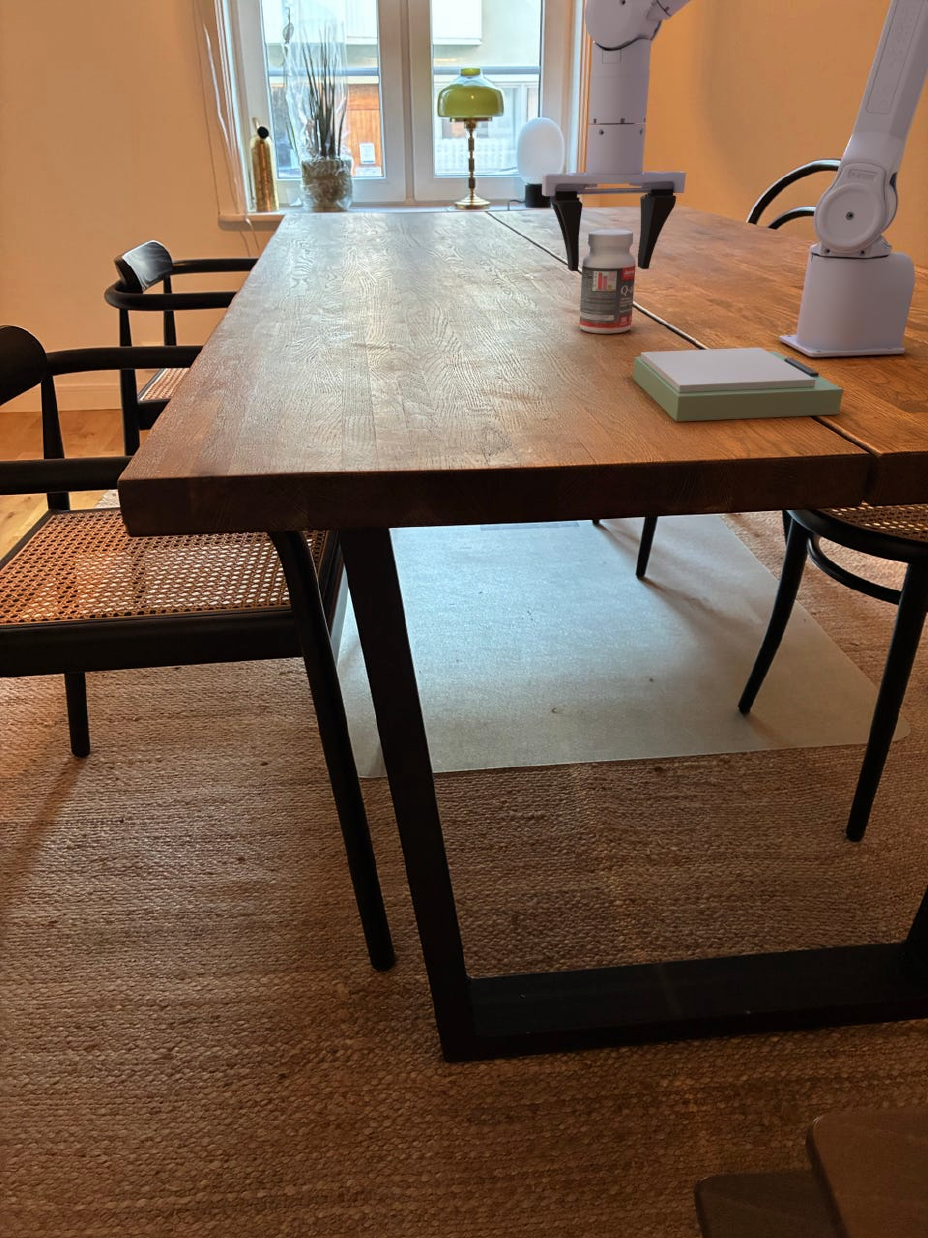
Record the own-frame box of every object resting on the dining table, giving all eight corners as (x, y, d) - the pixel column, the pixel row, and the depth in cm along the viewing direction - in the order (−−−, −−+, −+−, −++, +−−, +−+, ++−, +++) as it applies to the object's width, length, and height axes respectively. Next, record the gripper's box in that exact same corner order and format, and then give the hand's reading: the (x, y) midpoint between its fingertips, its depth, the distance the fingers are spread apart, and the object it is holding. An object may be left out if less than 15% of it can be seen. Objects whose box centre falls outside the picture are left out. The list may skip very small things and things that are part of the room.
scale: (773, 373, 81) (777, 344, 80) (838, 414, 69) (845, 381, 68) (632, 379, 80) (634, 349, 79) (676, 421, 69) (679, 388, 67)
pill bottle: (629, 335, 96) (637, 235, 91) (576, 334, 97) (581, 235, 92) (632, 324, 101) (638, 229, 96) (581, 323, 102) (585, 228, 97)
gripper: (675, 122, 93) (663, 261, 100) (538, 124, 92) (535, 265, 99) (697, 122, 87) (682, 270, 94) (550, 125, 86) (546, 274, 92)
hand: (608, 268), depth 96 cm, fingers open, 7 cm apart
